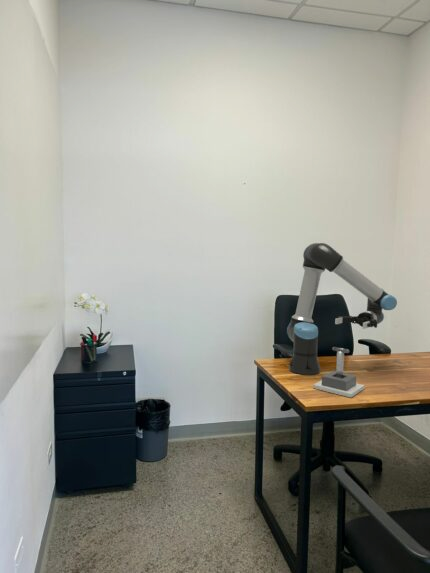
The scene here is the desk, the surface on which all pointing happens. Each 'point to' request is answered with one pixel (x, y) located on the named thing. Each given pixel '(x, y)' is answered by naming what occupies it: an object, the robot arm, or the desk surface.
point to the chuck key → (340, 361)
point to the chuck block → (339, 384)
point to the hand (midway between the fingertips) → (349, 323)
